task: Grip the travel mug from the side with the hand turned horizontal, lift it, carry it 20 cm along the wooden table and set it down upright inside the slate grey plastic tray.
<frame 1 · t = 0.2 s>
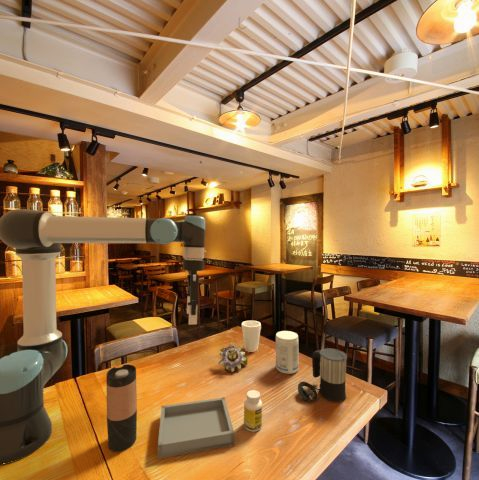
hand: (191, 318, 97), 27 cm above the table, tool pointing down, fingers open, 13 cm apart
travel mug: (122, 442, 75), on the table
passion flower: (232, 367, 116), on the table
foam cup: (251, 350, 133), on the table
supplement tub: (286, 369, 114), on the table
tray: (195, 430, 79), on the table
supplement bottle: (253, 426, 81), on the table
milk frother: (322, 396, 96), on the table
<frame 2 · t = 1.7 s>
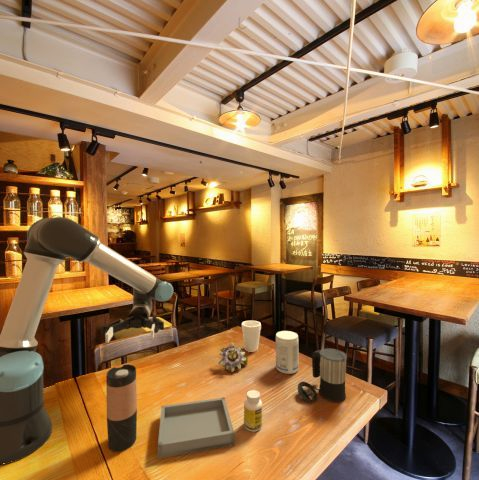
hand: (129, 336, 86), 25 cm above the table, tool horizontal, fingers open, 13 cm apart
nothing on the table moved.
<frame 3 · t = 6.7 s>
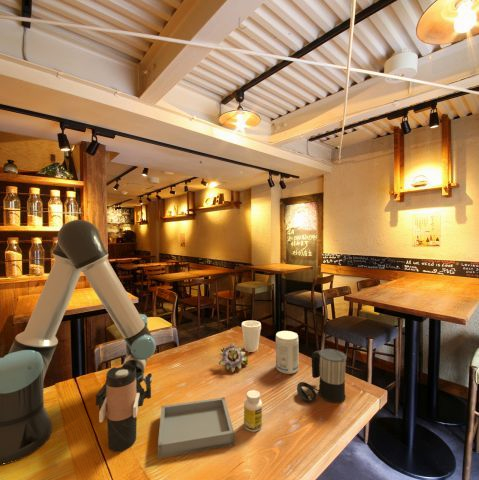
hand: (118, 414, 70), 11 cm above the table, tool horizontal, fingers closed on travel mug, 7 cm apart
travel mug: (122, 442, 75), on the table, touching gripper
everything else where it was.
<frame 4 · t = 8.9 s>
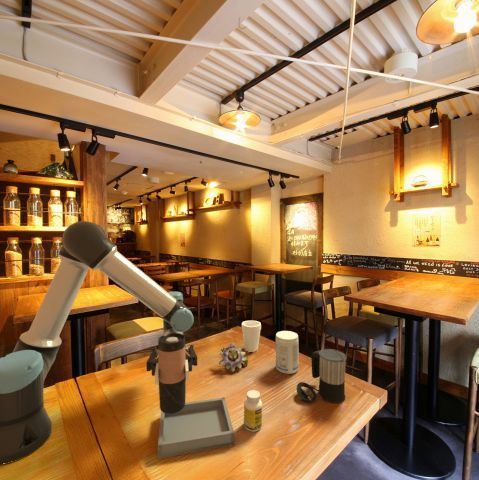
hand: (172, 377, 73), 19 cm above the table, tool horizontal, fingers closed on travel mug, 7 cm apart
travel mug: (172, 406, 78), point 8 cm above the table, touching gripper
everything else where it was.
when the fingers open (13 cm above the table, at t = 11.1 s): travel mug stays where it is, resting on tray.
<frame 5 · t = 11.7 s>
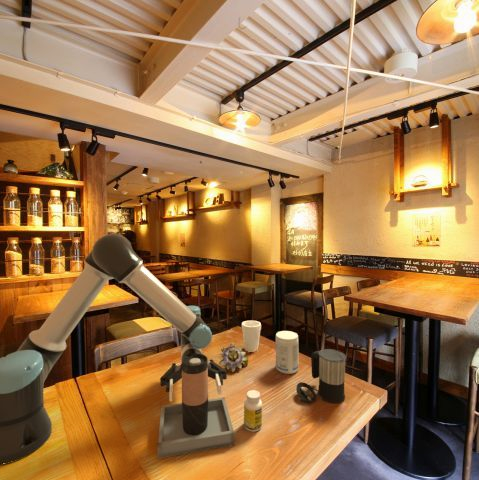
hand: (195, 393, 76), 13 cm above the table, tool horizontal, fingers open, 13 cm apart
travel mug: (195, 427, 79), point 1 cm above the table, touching tray
everything else where it was.
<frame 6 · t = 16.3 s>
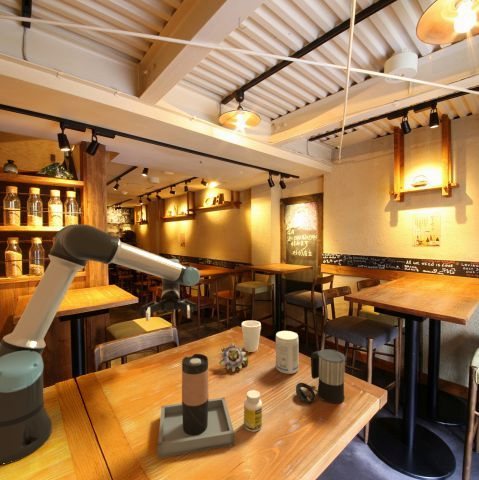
hand: (168, 315, 91), 30 cm above the table, tool horizontal, fingers open, 13 cm apart
at the end: travel mug inside the target area on the tray (0.1 cm from its centre), point 0.8 cm above the tray's base; travel mug tilted 0°; the gripper is holding nothing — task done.
